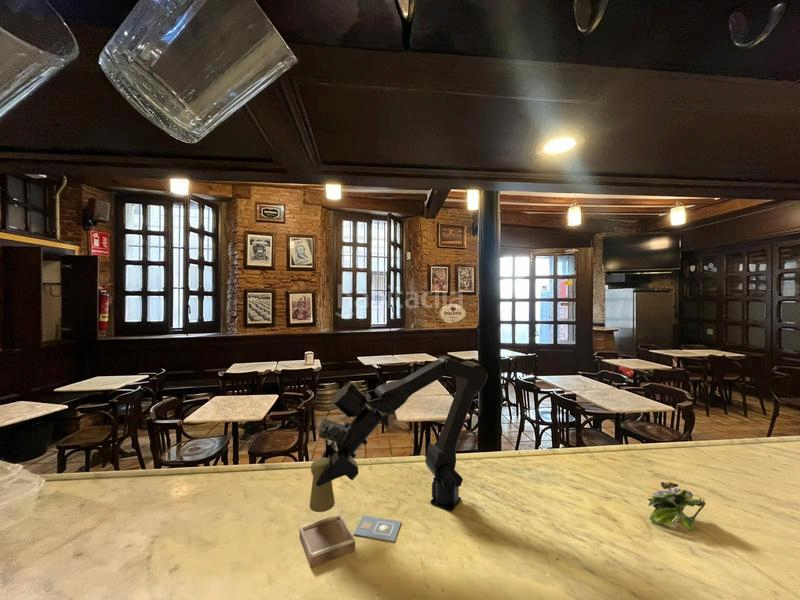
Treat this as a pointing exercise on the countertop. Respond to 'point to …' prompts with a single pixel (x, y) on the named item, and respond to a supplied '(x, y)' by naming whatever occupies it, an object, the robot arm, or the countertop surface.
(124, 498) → the countertop surface
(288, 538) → the countertop surface
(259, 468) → the countertop surface
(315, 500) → the olive pawn figure
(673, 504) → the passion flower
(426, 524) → the countertop surface
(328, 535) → the brown square tray
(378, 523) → the blueprint card
